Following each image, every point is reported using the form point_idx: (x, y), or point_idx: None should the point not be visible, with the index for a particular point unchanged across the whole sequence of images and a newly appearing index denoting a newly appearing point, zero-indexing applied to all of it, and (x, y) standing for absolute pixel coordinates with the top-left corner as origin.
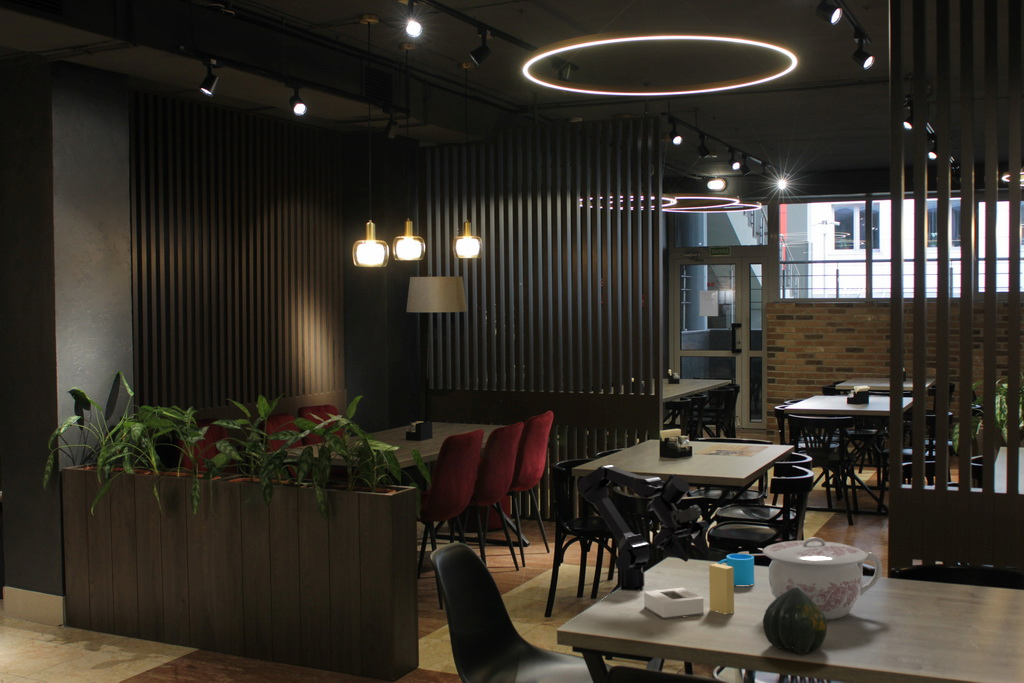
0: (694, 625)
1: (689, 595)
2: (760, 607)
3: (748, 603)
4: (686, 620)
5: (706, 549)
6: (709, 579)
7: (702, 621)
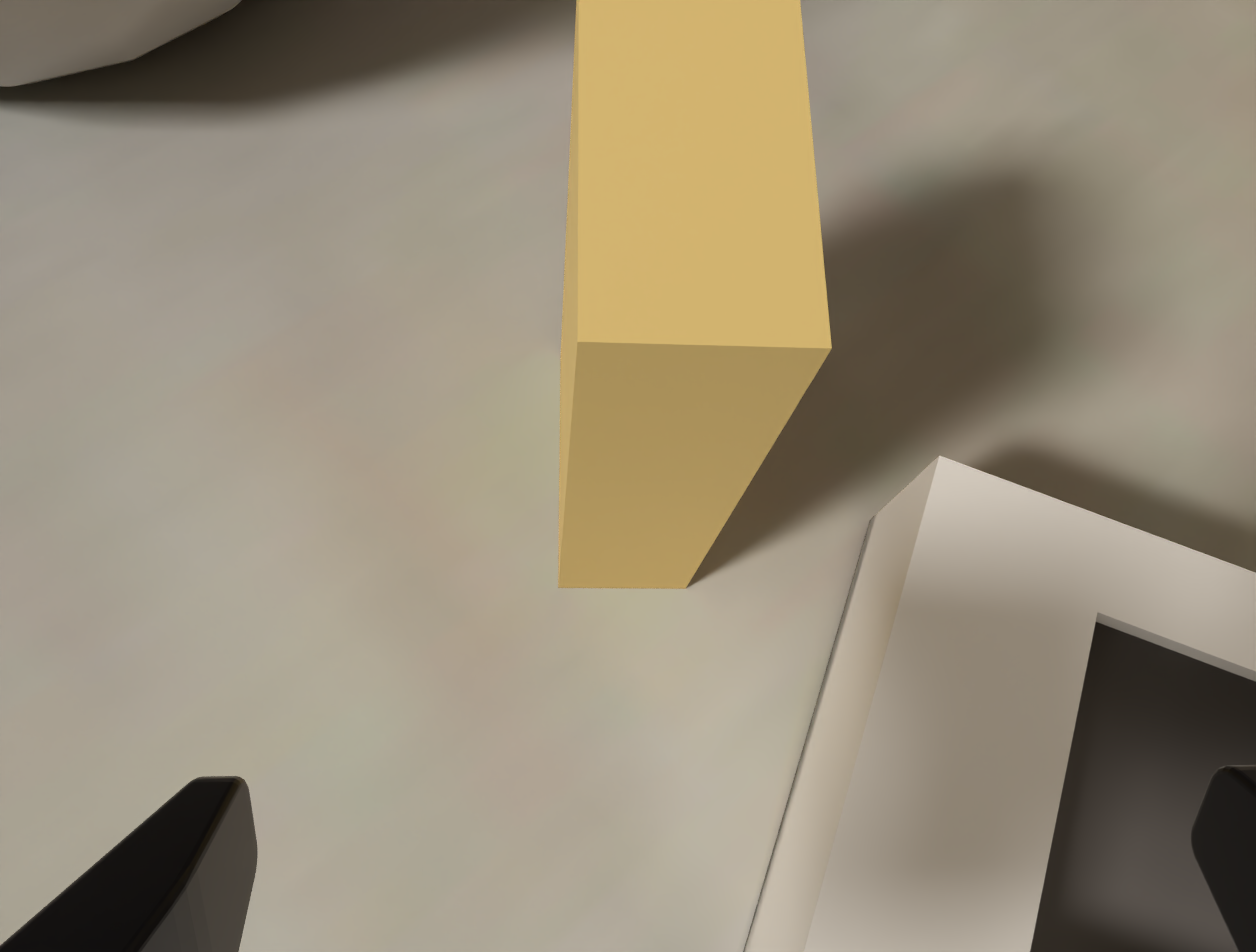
0: (1187, 357)
1: (1003, 669)
2: (190, 286)
3: (127, 462)
4: (1152, 510)
5: (180, 912)
6: (758, 463)
7: (1040, 384)
